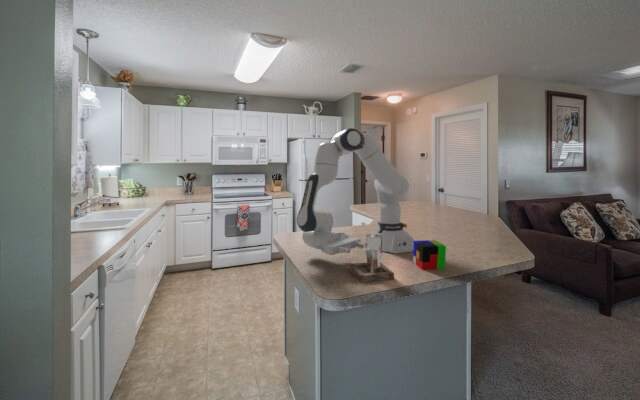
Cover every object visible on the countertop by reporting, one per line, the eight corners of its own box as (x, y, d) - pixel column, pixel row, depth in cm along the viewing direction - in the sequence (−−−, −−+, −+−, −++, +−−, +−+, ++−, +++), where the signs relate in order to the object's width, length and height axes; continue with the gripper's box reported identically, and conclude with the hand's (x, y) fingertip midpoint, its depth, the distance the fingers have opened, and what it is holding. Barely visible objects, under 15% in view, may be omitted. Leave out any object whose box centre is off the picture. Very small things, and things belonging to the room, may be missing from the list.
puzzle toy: (412, 262, 139) (413, 240, 137) (434, 261, 139) (435, 240, 138) (421, 269, 129) (423, 246, 128) (444, 269, 130) (446, 246, 128)
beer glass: (368, 267, 129) (368, 232, 127) (384, 270, 126) (385, 234, 124) (362, 272, 123) (362, 236, 121) (378, 275, 120) (379, 238, 118)
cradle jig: (379, 267, 131) (379, 261, 131) (394, 279, 118) (394, 273, 118) (348, 269, 129) (348, 263, 128) (359, 282, 115) (359, 275, 115)
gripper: (315, 239, 129) (340, 246, 119) (345, 232, 143) (370, 237, 134) (315, 254, 130) (340, 261, 120) (345, 245, 144) (369, 251, 135)
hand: (356, 248), depth 127 cm, fingers open, 8 cm apart
